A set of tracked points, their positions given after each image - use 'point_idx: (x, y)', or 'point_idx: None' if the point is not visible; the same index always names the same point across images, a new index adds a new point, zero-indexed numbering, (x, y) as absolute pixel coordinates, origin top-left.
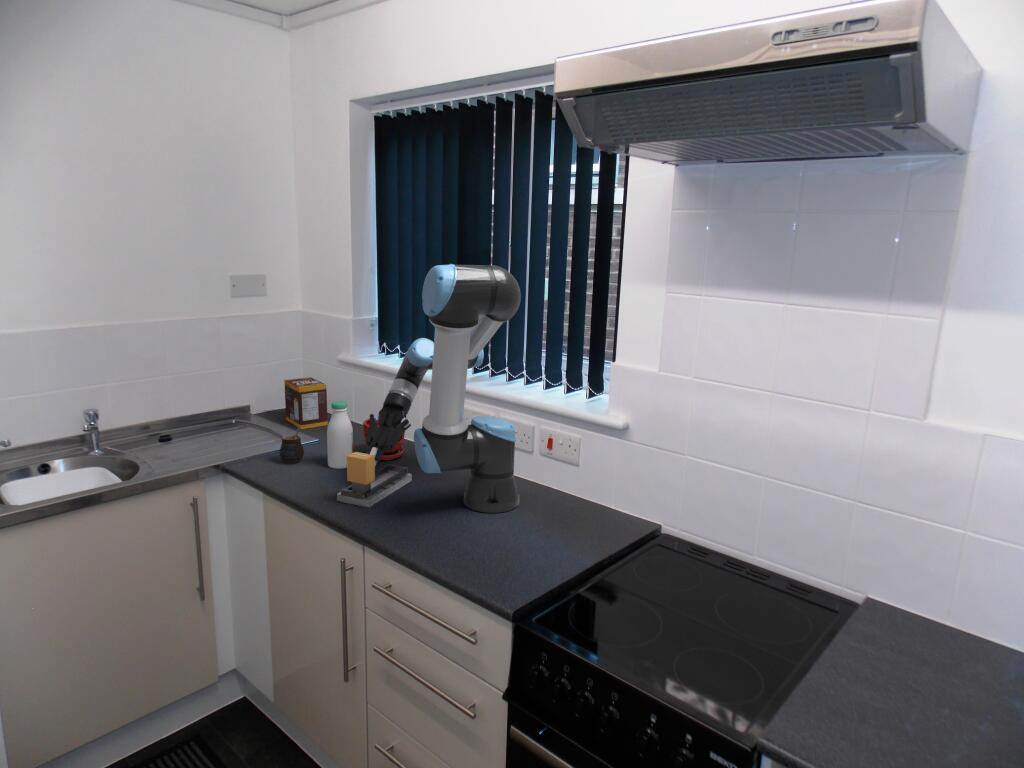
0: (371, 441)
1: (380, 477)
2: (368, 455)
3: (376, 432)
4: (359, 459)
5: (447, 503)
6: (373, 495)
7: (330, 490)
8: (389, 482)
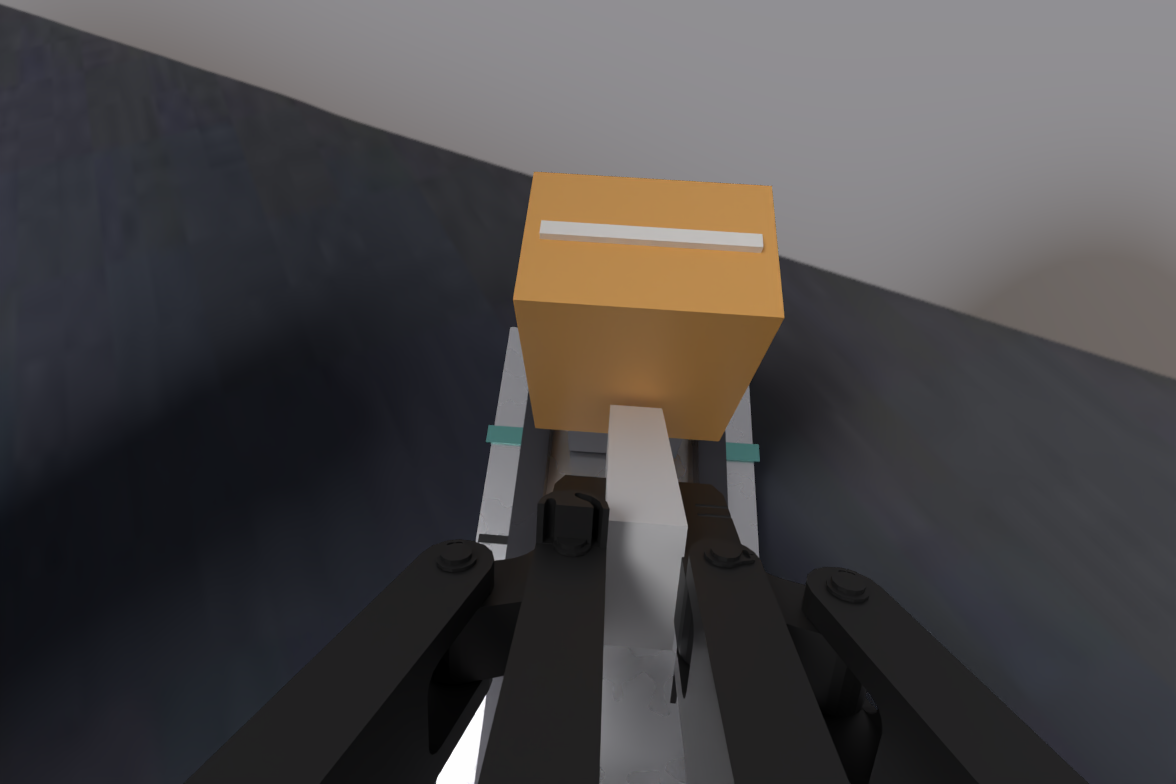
0: (868, 752)
1: (654, 770)
2: (572, 268)
3: (831, 774)
4: (612, 185)
5: (17, 589)
6: (517, 400)
7: (892, 489)
8: None
